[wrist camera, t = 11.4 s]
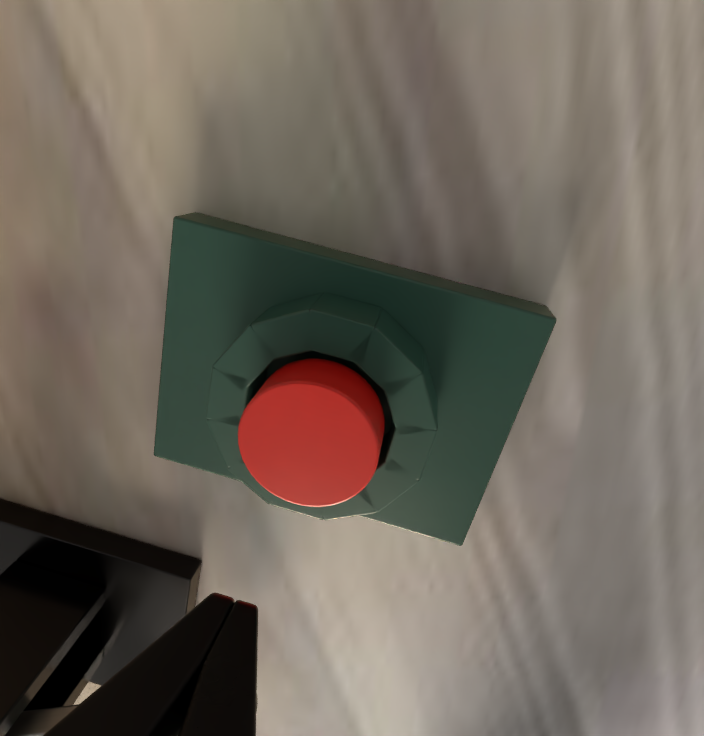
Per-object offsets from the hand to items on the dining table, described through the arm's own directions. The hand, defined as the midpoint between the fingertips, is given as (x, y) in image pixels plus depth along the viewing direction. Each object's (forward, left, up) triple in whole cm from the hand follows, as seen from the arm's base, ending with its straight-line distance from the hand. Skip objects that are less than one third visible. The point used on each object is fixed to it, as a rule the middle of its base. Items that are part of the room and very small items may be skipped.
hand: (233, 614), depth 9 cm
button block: (0, 0, -10) cm, 10 cm away
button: (0, 0, -7) cm, 7 cm away
